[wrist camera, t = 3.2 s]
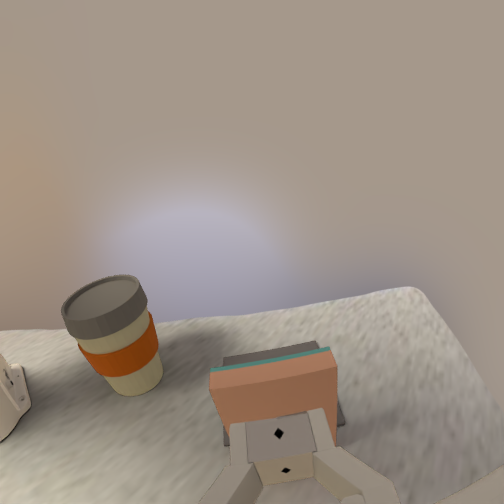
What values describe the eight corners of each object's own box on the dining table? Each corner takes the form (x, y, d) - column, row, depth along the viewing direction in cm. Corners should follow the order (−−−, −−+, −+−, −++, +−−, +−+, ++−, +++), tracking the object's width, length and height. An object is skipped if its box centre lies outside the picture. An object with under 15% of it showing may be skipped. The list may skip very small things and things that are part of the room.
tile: (335, 452, 28) (337, 366, 23) (243, 469, 28) (209, 389, 23) (330, 435, 30) (329, 346, 25) (242, 451, 30) (210, 368, 25)
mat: (345, 424, 31) (345, 422, 31) (224, 446, 31) (223, 444, 31) (315, 342, 46) (315, 340, 46) (224, 359, 46) (223, 357, 46)
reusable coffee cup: (109, 416, 37) (58, 333, 31) (97, 368, 47) (60, 294, 42) (185, 383, 42) (150, 296, 36) (160, 342, 53) (132, 265, 47)
